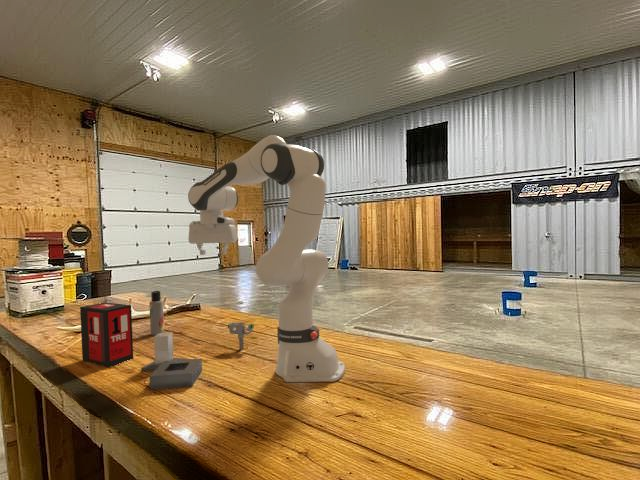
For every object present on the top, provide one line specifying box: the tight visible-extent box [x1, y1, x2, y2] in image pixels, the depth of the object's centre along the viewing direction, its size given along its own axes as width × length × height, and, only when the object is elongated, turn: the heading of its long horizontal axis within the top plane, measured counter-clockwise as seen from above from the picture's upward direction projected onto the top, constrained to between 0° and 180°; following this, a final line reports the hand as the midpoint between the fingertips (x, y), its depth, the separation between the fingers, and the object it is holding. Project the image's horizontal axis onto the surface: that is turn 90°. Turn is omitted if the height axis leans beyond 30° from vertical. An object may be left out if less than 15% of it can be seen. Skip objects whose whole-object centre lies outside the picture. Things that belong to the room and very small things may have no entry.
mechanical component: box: [227, 322, 255, 351], centre depth 131 cm, size 3×10×10 cm, turn 79°
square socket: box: [149, 357, 203, 391], centre depth 105 cm, size 12×12×4 cm
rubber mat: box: [140, 357, 187, 373], centre depth 116 cm, size 10×10×1 cm
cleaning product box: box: [79, 301, 134, 368], centre depth 124 cm, size 16×9×20 cm, turn 62°
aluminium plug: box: [153, 331, 174, 366], centre depth 116 cm, size 4×4×10 cm
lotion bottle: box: [148, 290, 165, 336], centre depth 156 cm, size 6×6×20 cm
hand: (213, 254), depth 135 cm, fingers open, 8 cm apart
